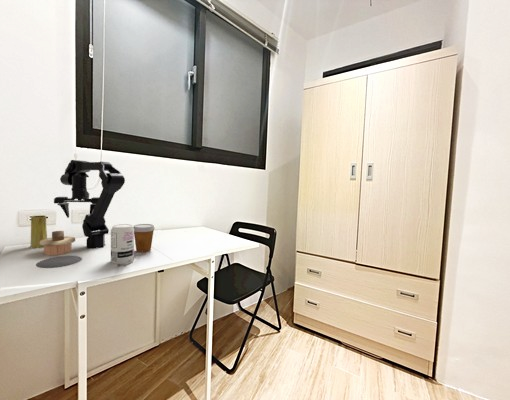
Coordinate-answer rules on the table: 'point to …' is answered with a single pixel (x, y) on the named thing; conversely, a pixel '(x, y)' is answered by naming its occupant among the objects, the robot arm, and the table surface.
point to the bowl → (57, 249)
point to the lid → (57, 239)
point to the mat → (59, 261)
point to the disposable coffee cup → (143, 237)
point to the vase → (38, 231)
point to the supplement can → (122, 244)
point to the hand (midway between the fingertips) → (79, 217)
